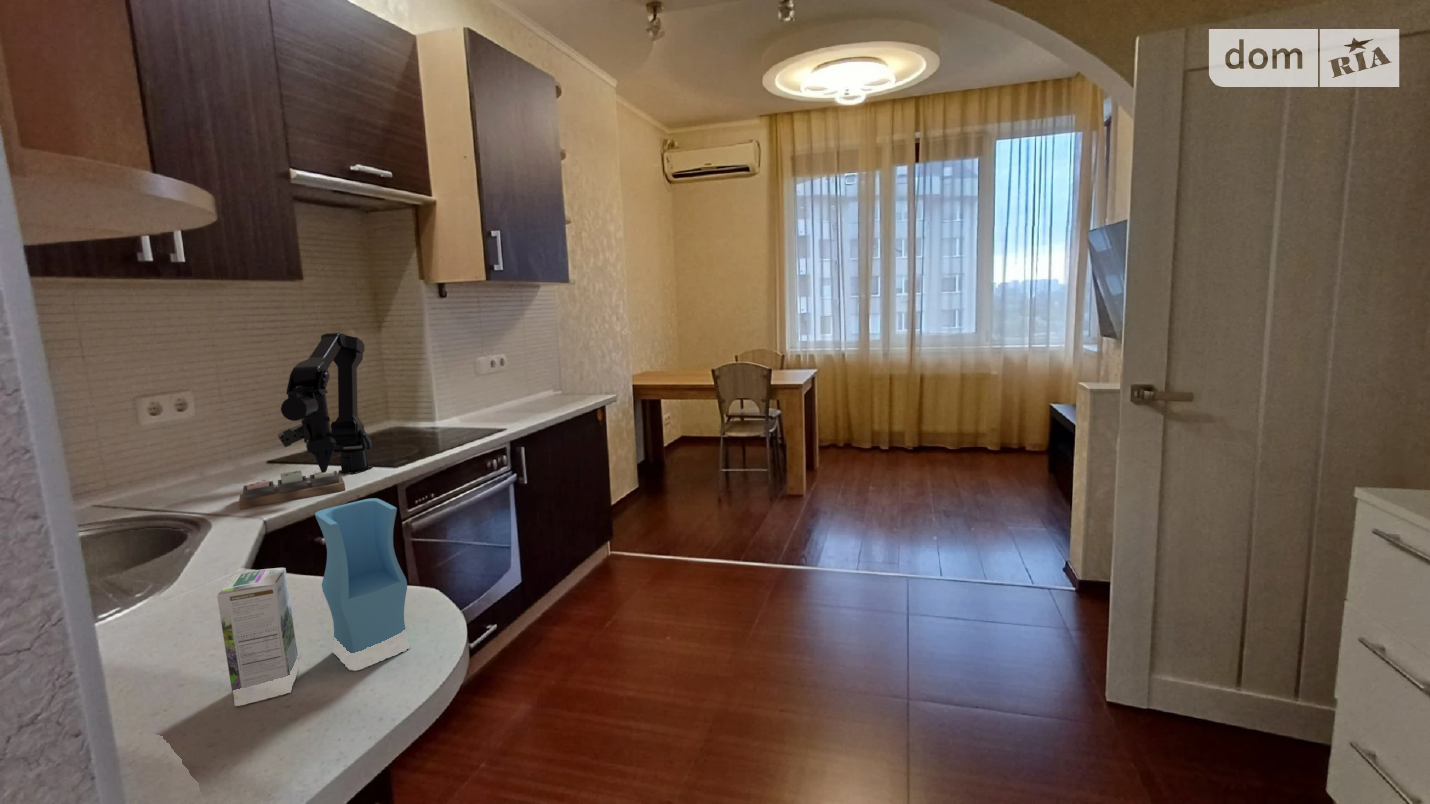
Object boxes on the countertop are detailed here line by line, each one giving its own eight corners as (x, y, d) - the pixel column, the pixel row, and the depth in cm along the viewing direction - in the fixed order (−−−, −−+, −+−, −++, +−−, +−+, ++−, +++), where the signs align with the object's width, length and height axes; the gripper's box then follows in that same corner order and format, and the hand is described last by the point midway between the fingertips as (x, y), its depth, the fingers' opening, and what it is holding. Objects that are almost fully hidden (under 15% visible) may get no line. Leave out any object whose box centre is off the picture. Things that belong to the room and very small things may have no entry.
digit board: (342, 482, 168) (340, 468, 167) (345, 490, 161) (343, 475, 160) (241, 500, 155) (238, 485, 155) (240, 509, 148) (237, 493, 147)
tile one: (333, 476, 165) (332, 468, 164) (335, 479, 161) (334, 472, 161) (314, 479, 162) (313, 471, 162) (315, 482, 159) (314, 475, 158)
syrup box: (246, 682, 77) (227, 574, 75) (302, 669, 80) (285, 564, 77) (234, 709, 72) (213, 593, 70) (293, 694, 75) (275, 582, 72)
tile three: (269, 486, 157) (268, 479, 156) (269, 490, 153) (268, 482, 153) (248, 490, 154) (247, 482, 154) (247, 494, 151) (246, 486, 150)
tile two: (302, 477, 160) (300, 470, 160) (302, 481, 157) (301, 473, 157) (281, 480, 158) (280, 473, 158) (282, 484, 154) (280, 476, 154)
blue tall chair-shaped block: (351, 674, 78) (329, 525, 75) (331, 652, 84) (310, 512, 80) (415, 647, 84) (397, 507, 81) (392, 628, 89) (375, 496, 86)
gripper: (276, 413, 162) (285, 470, 164) (277, 423, 147) (287, 486, 149) (326, 407, 168) (334, 463, 171) (332, 416, 153) (340, 477, 156)
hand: (323, 471), depth 161 cm, fingers closed, pressing on tile one
